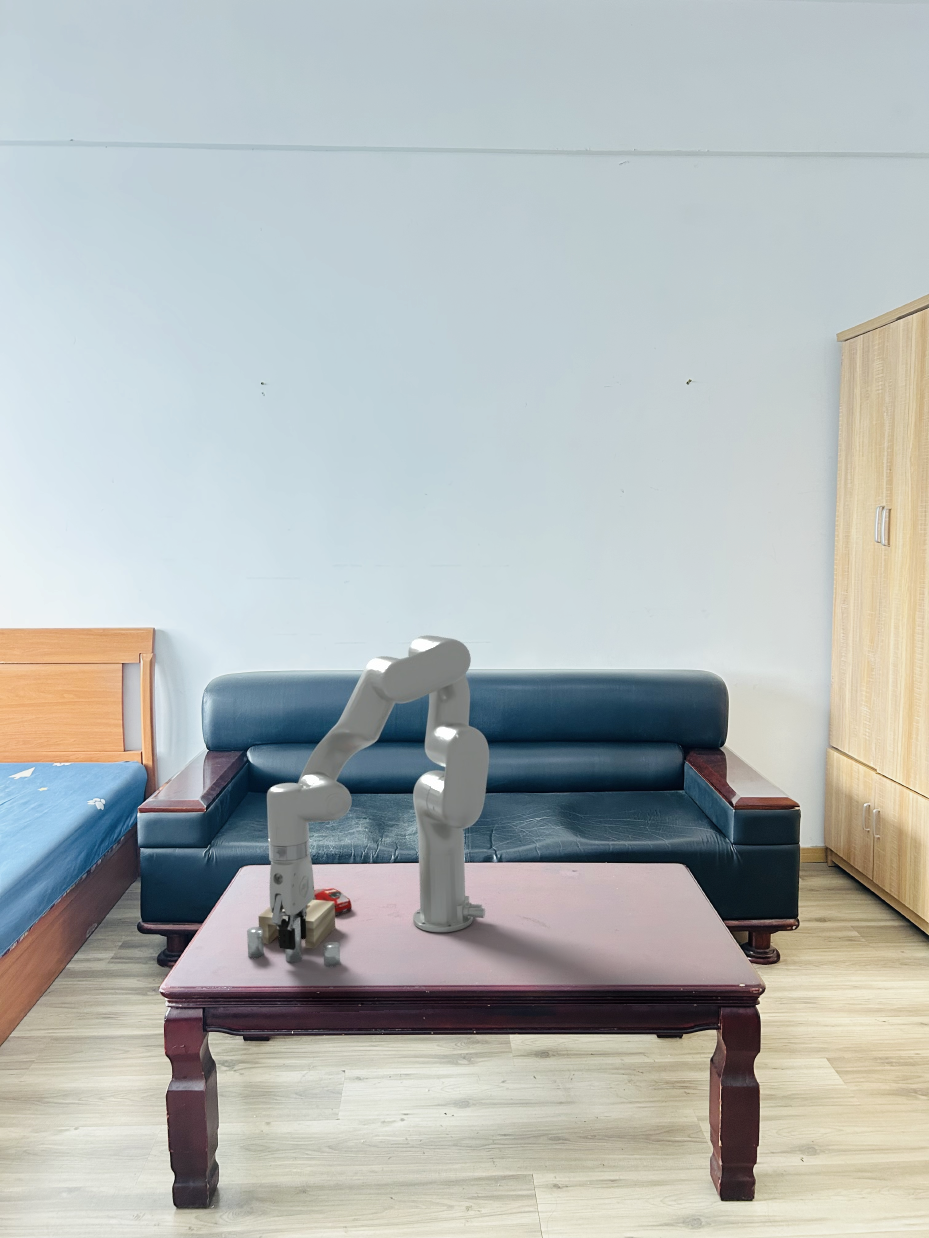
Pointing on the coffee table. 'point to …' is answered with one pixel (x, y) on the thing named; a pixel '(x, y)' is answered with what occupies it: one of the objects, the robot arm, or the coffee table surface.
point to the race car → (334, 899)
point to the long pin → (295, 954)
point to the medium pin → (255, 942)
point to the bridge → (317, 923)
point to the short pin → (331, 954)
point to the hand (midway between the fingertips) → (292, 942)
